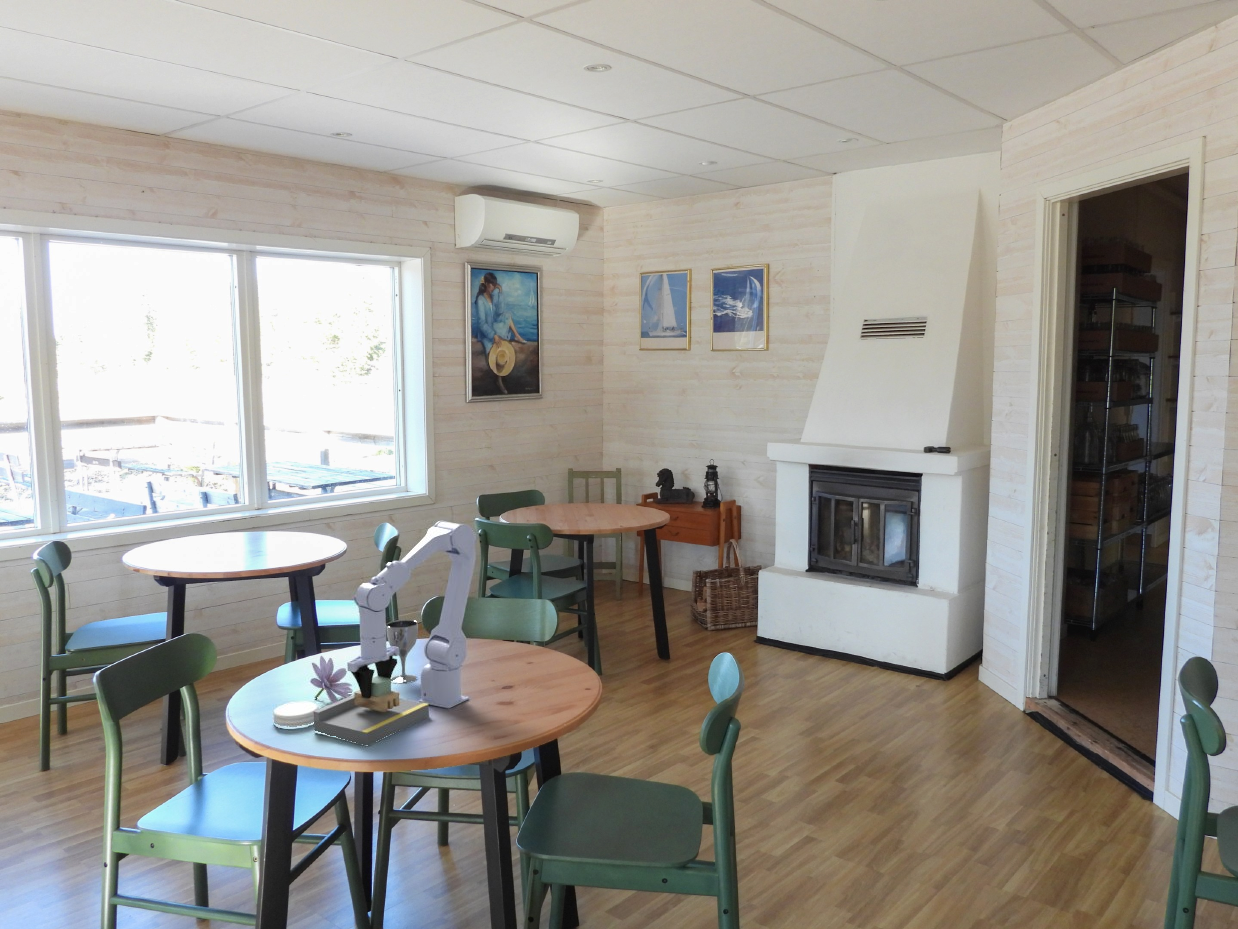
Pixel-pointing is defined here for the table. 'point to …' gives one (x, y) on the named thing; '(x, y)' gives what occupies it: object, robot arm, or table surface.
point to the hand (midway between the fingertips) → (375, 693)
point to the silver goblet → (403, 643)
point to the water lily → (330, 680)
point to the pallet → (377, 701)
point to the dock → (367, 720)
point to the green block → (380, 686)
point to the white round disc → (295, 714)
